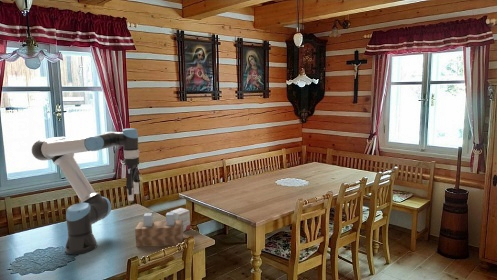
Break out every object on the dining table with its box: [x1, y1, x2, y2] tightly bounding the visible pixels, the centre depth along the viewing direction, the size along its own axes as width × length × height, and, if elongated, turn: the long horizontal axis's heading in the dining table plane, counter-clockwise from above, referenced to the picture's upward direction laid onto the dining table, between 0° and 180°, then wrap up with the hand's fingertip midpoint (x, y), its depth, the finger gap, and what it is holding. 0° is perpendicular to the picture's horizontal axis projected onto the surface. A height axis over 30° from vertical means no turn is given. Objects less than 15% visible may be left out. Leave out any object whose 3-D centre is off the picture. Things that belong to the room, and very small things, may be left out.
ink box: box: [169, 207, 191, 232], centre depth 210 cm, size 9×9×12 cm
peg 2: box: [165, 211, 175, 226], centre depth 193 cm, size 4×4×10 cm
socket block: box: [134, 220, 184, 248], centre depth 193 cm, size 24×10×10 cm, turn 94°
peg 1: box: [143, 212, 154, 227], centre depth 192 cm, size 4×4×10 cm
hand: (133, 197), depth 189 cm, fingers open, 11 cm apart
